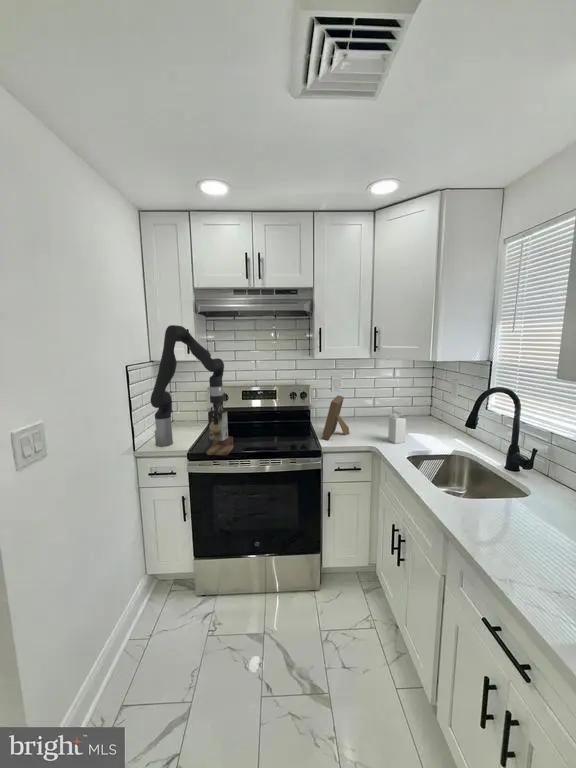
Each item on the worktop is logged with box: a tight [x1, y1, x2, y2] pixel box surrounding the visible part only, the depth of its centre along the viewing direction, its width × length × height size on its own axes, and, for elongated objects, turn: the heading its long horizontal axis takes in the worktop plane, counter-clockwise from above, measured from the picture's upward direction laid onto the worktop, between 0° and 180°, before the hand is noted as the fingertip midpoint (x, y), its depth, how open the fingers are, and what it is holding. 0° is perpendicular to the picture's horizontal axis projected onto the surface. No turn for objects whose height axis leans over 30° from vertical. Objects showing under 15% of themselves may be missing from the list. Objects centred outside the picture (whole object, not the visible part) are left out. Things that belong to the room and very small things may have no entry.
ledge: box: [206, 436, 234, 456], centre depth 188 cm, size 12×12×7 cm
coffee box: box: [208, 409, 229, 441], centre depth 185 cm, size 9×6×16 cm
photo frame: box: [321, 395, 350, 441], centre depth 211 cm, size 15×22×25 cm
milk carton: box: [387, 409, 407, 445], centre depth 197 cm, size 7×7×19 cm
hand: (218, 422), depth 185 cm, fingers closed on coffee box, 7 cm apart
